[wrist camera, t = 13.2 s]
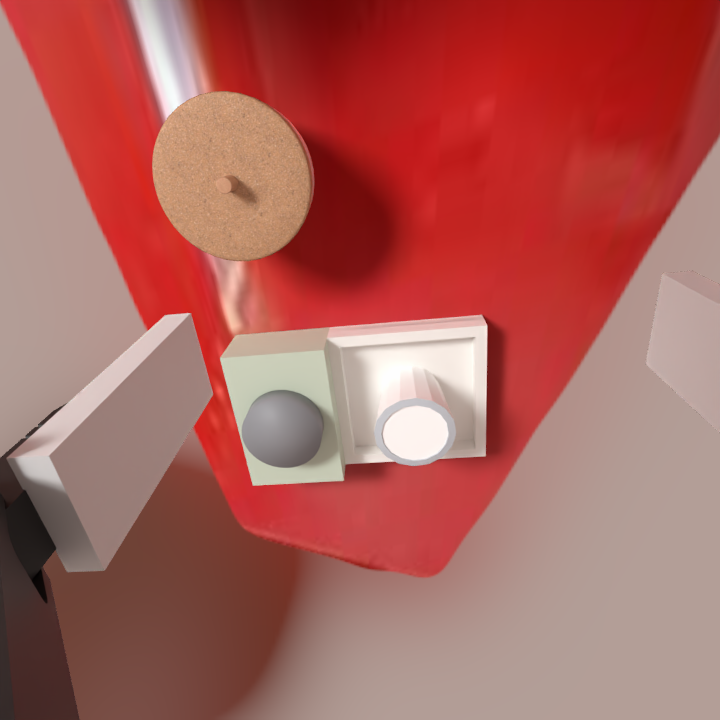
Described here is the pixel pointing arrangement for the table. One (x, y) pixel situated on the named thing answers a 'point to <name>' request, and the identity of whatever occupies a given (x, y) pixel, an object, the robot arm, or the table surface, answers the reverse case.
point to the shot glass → (413, 418)
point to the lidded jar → (233, 175)
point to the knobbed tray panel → (347, 392)
